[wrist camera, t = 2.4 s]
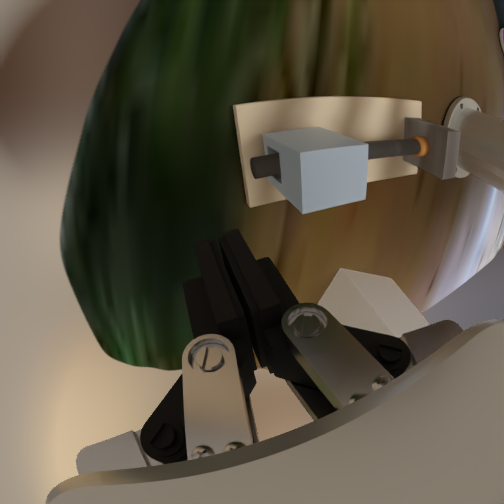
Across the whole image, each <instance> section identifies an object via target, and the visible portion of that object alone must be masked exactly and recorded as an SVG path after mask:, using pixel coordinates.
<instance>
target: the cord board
mask: <svg viewBox="0 0 504 504" xmlns="http://www.w3.org/2000/svg"><path fill="white" fill-rule="evenodd" d="M233 111H234V118H235V125H236V131H237V138H238V145H239V152H240V159H241V166H242V173H243V179H244V186H245V193H246V200H247V204H248V206H249V207H250V208H251V207H256V206H260V205H264V204H268V203H272V202H277V201H281V200H285V199H287V198H286V197H284V196H283V195H282V194H281V193H280V192H279V191H278V190H277V189H276V188H275V187H274V186H273V185H272V184H271V183H270V182H269V181H268V179H267V177H269V176H274V175H279V174H281V168H280V157H279V153H274V154H268V155H265V151H264V142H263V134H265V133H272V132H279V131H286V130H294V129H302V128H312V127H322V128H325V129H328V130H331V131H334V132H337V133H339V134H342V135H345V136H348V137H351V138H353V139H356V140H359V141H361V142H364V143H367V144H369V145H368V171H367V182H372V181H378V180H383V179H389V178H394V177H400V176H406V175H412V174H417V169H418V168H420V169H422V170H424V171H426V172H428V173H430V174H432V175H434V176H436V177H437V178H439V179H441V180H445V179H450V178H455V172H456V165H457V158H458V150H459V141H460V132H459V131H456V130H454V129H451V128H448V127H445V126H442V125H439V124H437V123H433V122H430V121H427V120H424V119H421V111H422V102H421V101H417V100H410V99H399V98H387V97H367V96H320V97H300V98H287V99H276V100H266V101H258V102H250V103H243V104H237V105H233Z"/></svg>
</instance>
